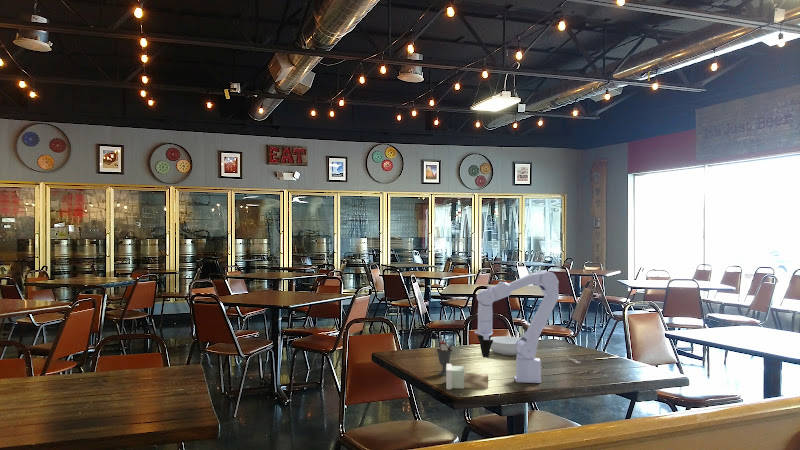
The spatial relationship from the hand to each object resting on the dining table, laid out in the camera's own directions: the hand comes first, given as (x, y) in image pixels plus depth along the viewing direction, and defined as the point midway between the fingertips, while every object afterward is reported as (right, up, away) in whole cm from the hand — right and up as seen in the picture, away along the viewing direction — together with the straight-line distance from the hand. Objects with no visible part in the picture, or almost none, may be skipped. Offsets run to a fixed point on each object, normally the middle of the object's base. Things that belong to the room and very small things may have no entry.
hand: (484, 355), depth 226 cm
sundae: (-15, -10, +10) cm, 21 cm away
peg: (-6, -10, -9) cm, 15 cm away
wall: (-15, -10, -8) cm, 19 cm away
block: (-11, -10, -8) cm, 17 cm away
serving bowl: (+19, -11, +52) cm, 57 cm away
